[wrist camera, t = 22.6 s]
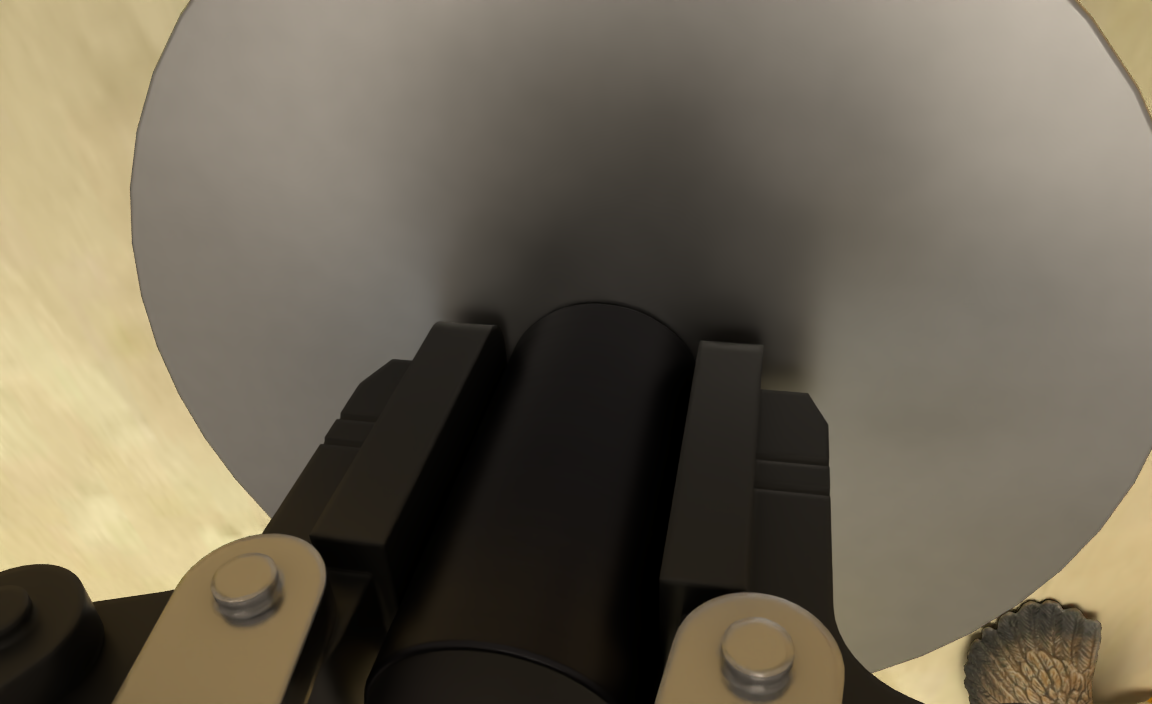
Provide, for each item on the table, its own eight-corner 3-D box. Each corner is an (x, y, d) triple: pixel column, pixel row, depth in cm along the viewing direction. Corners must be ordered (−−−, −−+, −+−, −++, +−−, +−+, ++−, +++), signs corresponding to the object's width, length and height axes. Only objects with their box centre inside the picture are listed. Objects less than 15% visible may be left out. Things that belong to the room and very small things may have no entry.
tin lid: (295, 589, 17) (98, 936, 12) (29, -191, 10) (-698, -83, 5) (1018, 687, 14) (1119, 1165, 10) (1367, -254, 7) (2376, -160, 3)
